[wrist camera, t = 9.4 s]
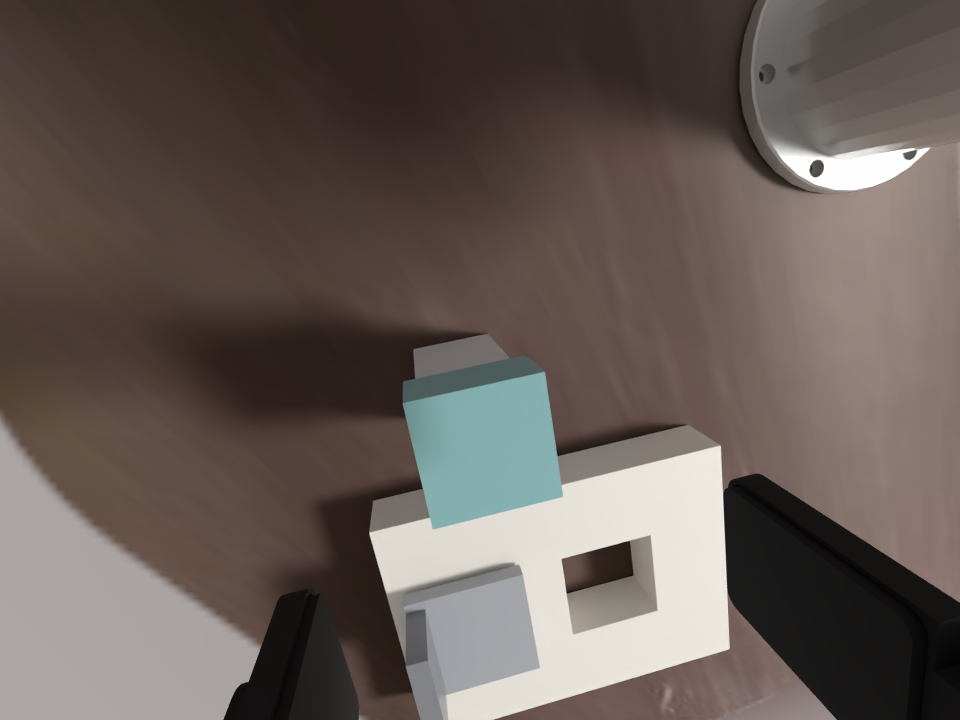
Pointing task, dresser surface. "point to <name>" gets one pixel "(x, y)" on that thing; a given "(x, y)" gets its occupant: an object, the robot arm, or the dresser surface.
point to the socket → (574, 530)
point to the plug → (480, 430)
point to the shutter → (467, 637)
